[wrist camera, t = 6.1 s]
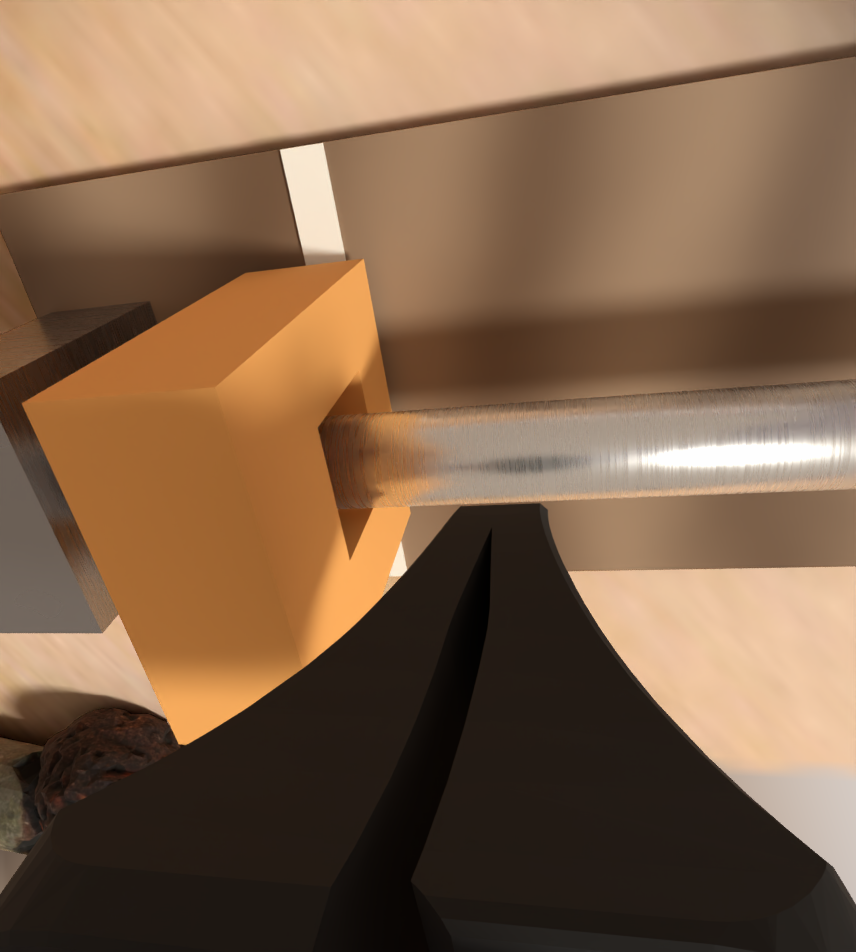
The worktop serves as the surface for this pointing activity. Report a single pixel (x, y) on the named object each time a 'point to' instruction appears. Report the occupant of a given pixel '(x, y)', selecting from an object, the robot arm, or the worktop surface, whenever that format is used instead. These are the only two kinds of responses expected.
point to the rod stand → (504, 322)
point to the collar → (228, 484)
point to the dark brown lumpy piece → (73, 768)
